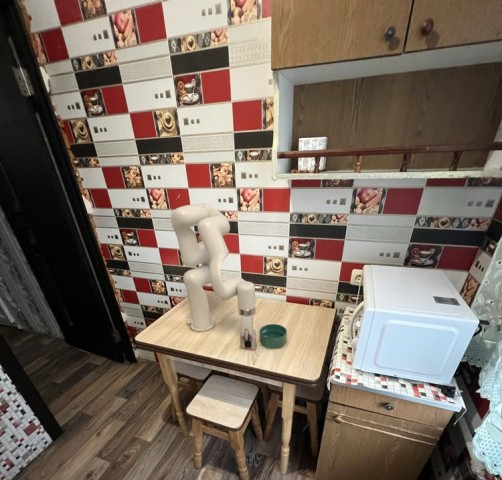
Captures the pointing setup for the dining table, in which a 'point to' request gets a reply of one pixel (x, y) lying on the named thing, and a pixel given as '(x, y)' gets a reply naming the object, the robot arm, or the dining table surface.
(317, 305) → the dining table surface
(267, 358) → the dining table surface
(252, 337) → the white juice carton
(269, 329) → the teal faceted bowl
